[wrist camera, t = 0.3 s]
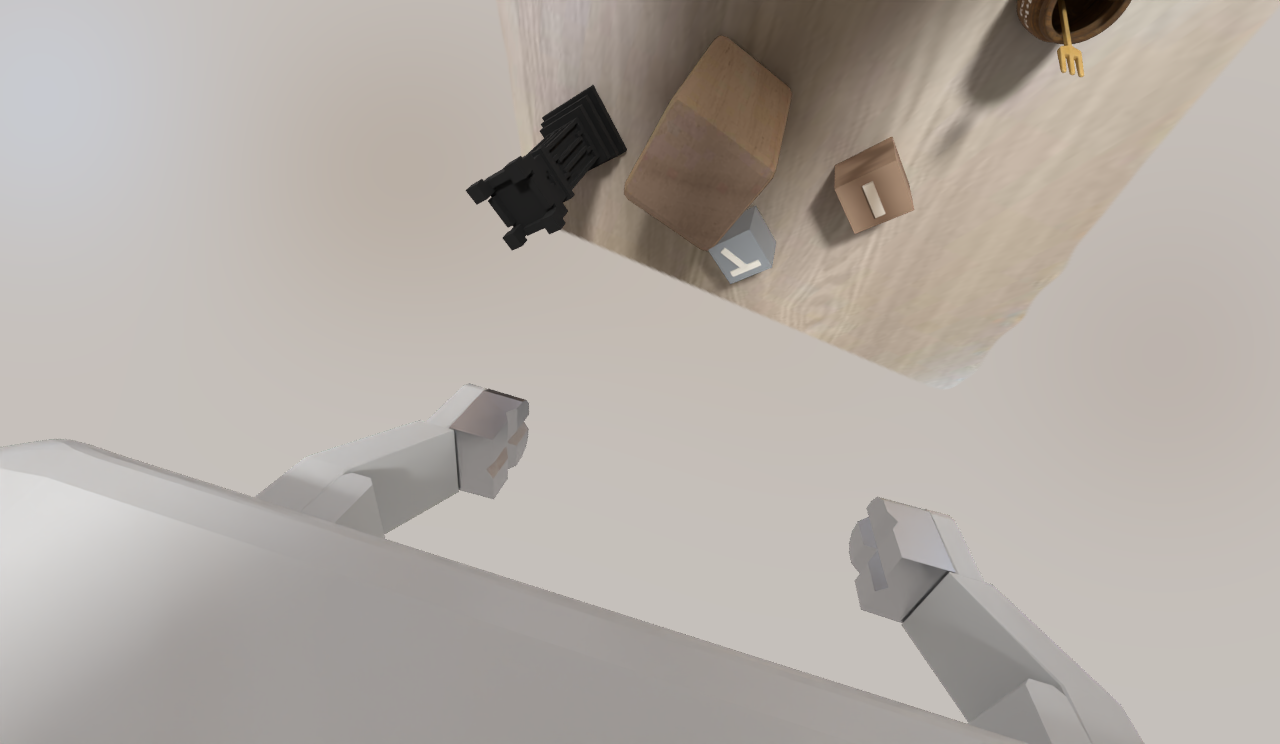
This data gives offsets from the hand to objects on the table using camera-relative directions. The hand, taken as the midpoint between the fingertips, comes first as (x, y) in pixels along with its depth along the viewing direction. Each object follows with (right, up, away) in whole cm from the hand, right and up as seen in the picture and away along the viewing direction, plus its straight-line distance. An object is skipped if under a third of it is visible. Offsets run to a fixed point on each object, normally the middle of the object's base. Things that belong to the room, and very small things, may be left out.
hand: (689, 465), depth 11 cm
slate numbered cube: (+13, +21, +51) cm, 57 cm away
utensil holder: (+34, +34, +27) cm, 55 cm away
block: (+9, +32, +40) cm, 52 cm away
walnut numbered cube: (+25, +25, +41) cm, 54 cm away
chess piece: (-8, +33, +47) cm, 58 cm away
